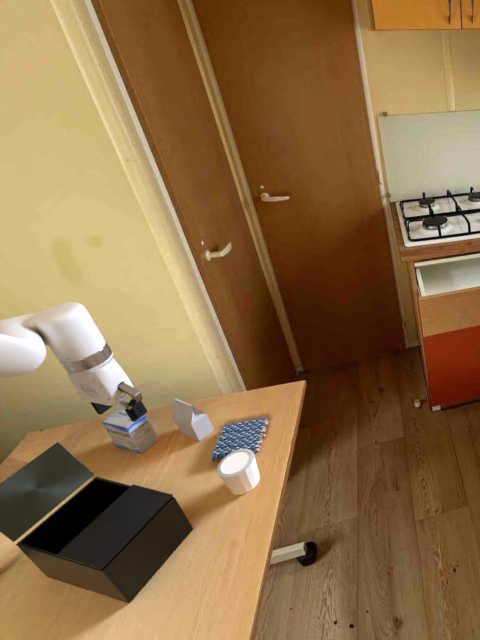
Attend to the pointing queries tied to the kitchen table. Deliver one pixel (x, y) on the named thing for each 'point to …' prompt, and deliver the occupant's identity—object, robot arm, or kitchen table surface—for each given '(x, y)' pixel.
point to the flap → (39, 489)
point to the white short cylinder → (239, 471)
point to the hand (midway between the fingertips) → (123, 413)
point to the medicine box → (130, 432)
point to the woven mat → (240, 438)
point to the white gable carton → (191, 420)
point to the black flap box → (108, 538)
